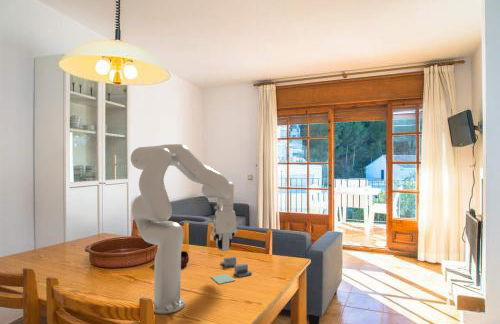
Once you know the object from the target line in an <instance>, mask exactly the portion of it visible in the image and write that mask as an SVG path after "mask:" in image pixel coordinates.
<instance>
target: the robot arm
mask: <svg viewBox="0 0 500 324" xmlns="http://www.w3.org/2000/svg"><path fill="white" fill-rule="evenodd" d="M130 161H131V164H132V166H133V167H134V168H136V169H138V170H141V174H140V176H139V179H138V180H139V181H138V187H139V188H138V189H139V193H140V195H138V196H137V197H136V198H135V199H134V200H133V202H132V206H131V207H132V208H131V212H132V216H133V219H134V223H135V224H136V227H137V230H138V232H139V234H140V237H141V239H143V240H144V242H146V243H147V244H150V245H151V244H152V245H155V246H158V248H157V252H156V253H155V257H154V279H153V281H154V286H153V287H154V295H153V297H154V298H153V300H152V301H153V304H154V312H153V313H155V314H161V315H163V314H171V313H176V312H178V311H181V310H182V309H183V308H184V307H185V299H184V298H183V297H182V296H181V295H182V291H181V289H182V288H181V284H182V283H181V282H182V281H181V280H182V279H181V278H182V277H181V276H182V275H181V274H182V267H181V251H182V247H183V243H184V236H185V232H184V228H183V226H182V225H181V224H179V223H178V222H175V221H172V220H169V219H171V216H172V214H173V207H172V204H171V202H170V198H169V196H168V195H169V194H168V192H167V189H166V186H165V181H164V179H165V176H166V171H167V170H168V168H169V166H174V167H175V168H176V169H178V170H179V172H180V173H182V174H183V175H184V176H185V177H186V178H187V179H189V180H190V181H192V182H194V183H197V184H200V185H202V186H201V194H202V195H203V196H204V197H205V198H207V199H208V198H209V199H216V205H215V206H214V209H215V210H216V211H215V214H214V217H213V228H212V230H211V231H210V235H211V236H213V237H214V238H216V239H218V241H217V246H218V248H220V249H222V240H221V237H222V234H225V233H230V237H229V249H230V248H231V246H232V239H233V237H235V235H237V233H239V230H238V228H237V216H236V215H237V214H236V211H235V210H234V194H235V193H234V192H235V191H234V190H235V188H234V187H235V185H234V183H233V182H232V181H229V180H228V179H227V178H226V177H225V176H224V175H223V174H222V173H220V172H218V171H216V170H214V169H213V168H211V167H210V166H208V165H205V164H204V163H203V162H202V161H201V160H200V158H198V157H197V156H196V155H195V154H194V153H193V152H192V151H191V149H190V148H189V147H188V146H186V145H184V144H181V143H173V144H161V145H160V144H159V145H149V146H141V147H140V146H139V147H137V148H134V149H133V151H132V153H131V155H130ZM218 248H217V249H218Z"/></svg>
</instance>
